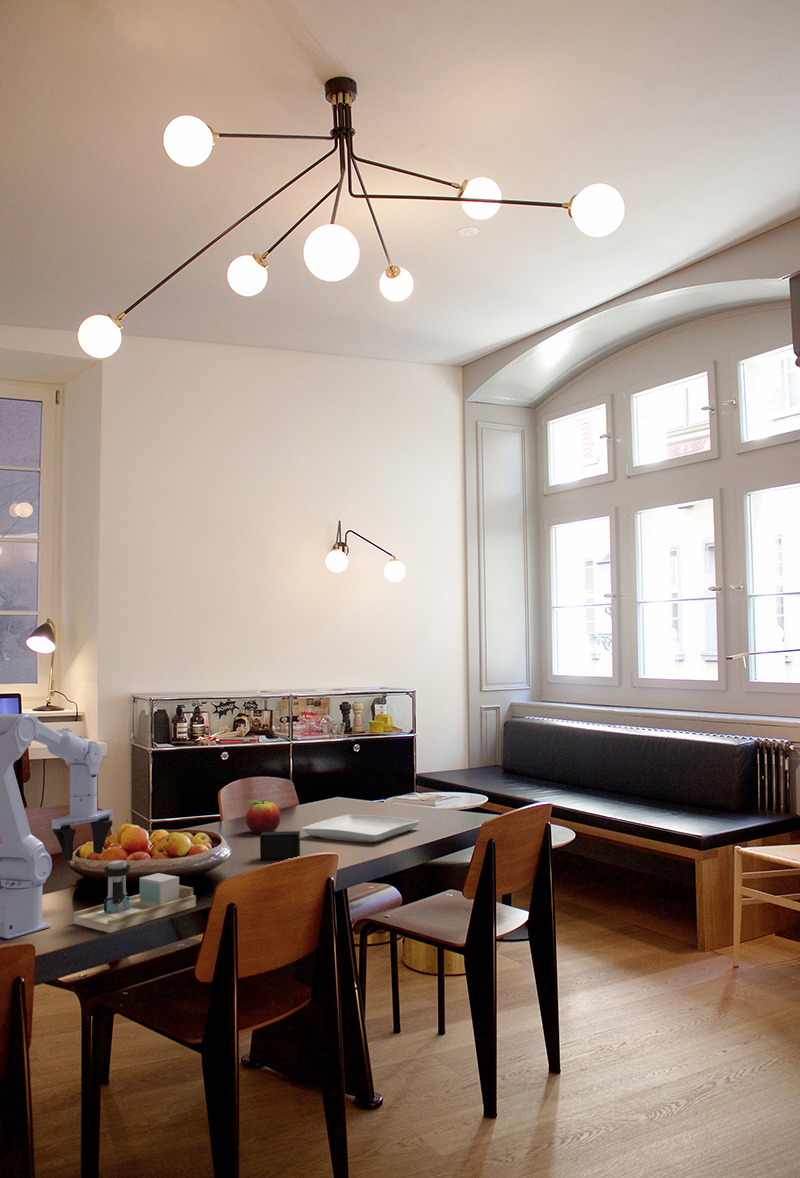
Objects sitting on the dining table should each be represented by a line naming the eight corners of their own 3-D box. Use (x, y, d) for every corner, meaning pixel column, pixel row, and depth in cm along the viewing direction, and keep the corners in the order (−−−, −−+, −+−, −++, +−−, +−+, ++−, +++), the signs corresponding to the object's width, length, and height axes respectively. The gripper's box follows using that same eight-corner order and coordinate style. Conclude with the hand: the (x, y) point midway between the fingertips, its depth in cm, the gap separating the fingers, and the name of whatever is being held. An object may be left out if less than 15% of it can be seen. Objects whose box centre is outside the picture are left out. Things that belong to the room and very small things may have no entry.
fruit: (277, 835, 270) (277, 802, 271) (242, 836, 270) (242, 802, 271) (283, 828, 281) (282, 796, 282) (249, 829, 281) (249, 797, 282)
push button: (129, 904, 189) (129, 857, 190) (140, 909, 185) (140, 860, 186) (99, 911, 184) (99, 862, 185) (110, 916, 180) (110, 866, 181)
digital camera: (300, 855, 241) (300, 829, 241) (299, 860, 235) (298, 833, 236) (262, 856, 240) (262, 830, 241) (260, 861, 235) (260, 834, 236)
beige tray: (110, 932, 174) (110, 912, 174) (73, 923, 181) (74, 904, 181) (195, 906, 192) (195, 888, 192) (159, 898, 199) (159, 881, 199)
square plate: (376, 847, 251) (376, 833, 251) (299, 839, 264) (298, 826, 264) (422, 830, 274) (421, 818, 274) (348, 824, 288) (348, 812, 288)
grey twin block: (159, 906, 187) (159, 882, 188) (138, 901, 191) (138, 878, 192) (179, 900, 192) (179, 876, 192) (158, 896, 196) (158, 873, 196)
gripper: (65, 800, 190) (64, 865, 189) (121, 791, 201) (121, 852, 200) (46, 798, 194) (45, 861, 193) (102, 789, 206) (102, 849, 204)
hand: (83, 856), depth 197 cm, fingers open, 7 cm apart
